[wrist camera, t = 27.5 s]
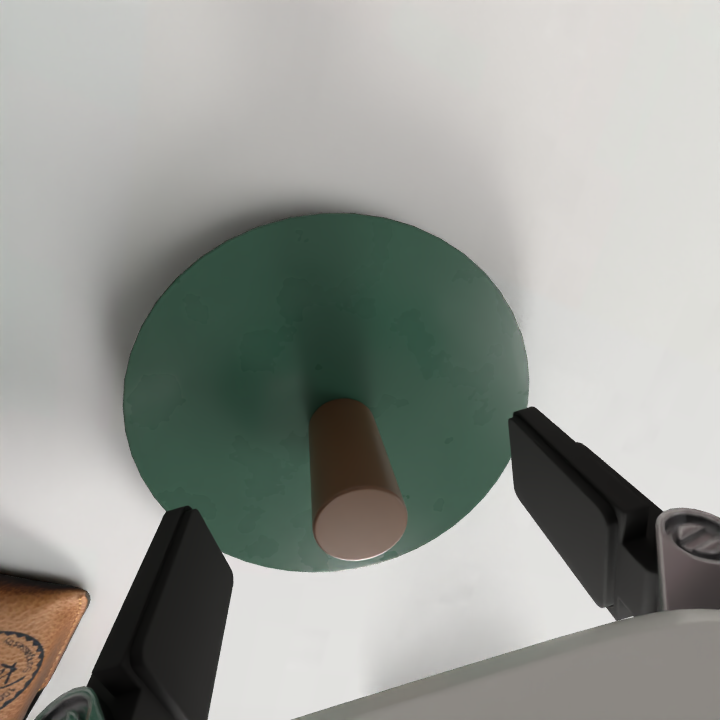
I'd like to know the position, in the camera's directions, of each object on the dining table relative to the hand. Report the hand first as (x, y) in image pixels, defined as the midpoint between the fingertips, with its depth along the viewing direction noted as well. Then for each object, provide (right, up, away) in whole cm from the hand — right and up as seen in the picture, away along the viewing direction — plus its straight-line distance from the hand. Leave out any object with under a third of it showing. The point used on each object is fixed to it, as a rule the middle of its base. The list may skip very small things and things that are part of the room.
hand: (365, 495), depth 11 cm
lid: (-1, +2, +4) cm, 5 cm away
